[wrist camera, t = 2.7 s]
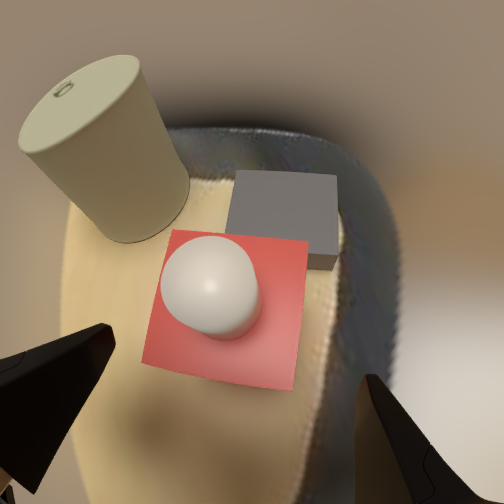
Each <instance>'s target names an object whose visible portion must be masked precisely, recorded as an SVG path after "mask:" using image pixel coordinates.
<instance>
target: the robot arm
mask: <svg viewBox="0 0 504 504" xmlns="http://www.w3.org/2000/svg"><path fill="white" fill-rule="evenodd" d="M115 345H116V342H115V338H114V334H113V330H112V327H111V326H110V325H107V324H104V323H100V324H97V325H94V326H92V327H89V328H86V329H84V330H81V331H78V332H76V333H73V334H70V335H68V336H65V337H62V338H60V339H57V340H54V341H52V342H49V343H46V344H43V345H41V346H38V347H35V348H33V349H30V350H28V351H24V352H22V353H19V354H16V355H13V356H10V357H7V358H4V359H0V504H15V500H14V494H13V489H12V486H11V485H10V484H9V483H10V482H11V480H12V479H14V480H16V481H17V482H18V483H19V484H20V485H22V486H23V487H24V488H25V489H27V490H28V491H29V492H31V493H32V494H33V495H34V494H35V493H36V491H37V489H38V487H39V485H40V483H41V481H42V479H43V477H44V475H45V473H46V471H47V469H48V467H49V466H50V464H51V462H52V460H53V458H54V456H55V454H56V452H57V450H58V449H59V447H60V445H61V443H62V441H63V440H64V438H65V436H66V434H67V433H68V431H69V429H70V427H71V426H72V424H73V422H74V420H75V419H76V417H77V415H78V414H79V412H80V410H81V409H82V407H83V405H84V404H85V402H86V400H87V399H88V397H89V395H90V394H91V392H92V391H93V389H94V387H95V386H96V384H97V382H98V381H99V379H100V377H101V375H102V373H103V371H104V369H105V367H106V365H107V363H108V361H109V359H110V357H111V355H112V353H113V351H114V349H115ZM354 463H355V501H354V504H504V503H498V502H492V501H488V500H485V499H483V498H481V497H479V496H478V495H476V494H475V493H474V492H473V491H472V490H471V489H470V488H469V487H468V486H467V485H466V484H465V483H464V482H463V481H462V479H461V478H460V477H459V476H458V475H457V474H456V473H455V472H454V471H453V470H452V469H451V468H450V467H449V466H448V465H447V463H446V462H445V461H444V460H443V459H442V457H441V456H440V455H439V454H438V452H437V451H436V450H435V448H434V447H433V446H432V445H430V442H429V441H428V439H427V438H426V437H425V435H424V434H423V433H422V431H421V430H420V429H419V428H418V426H417V425H416V424H415V423H414V421H413V420H412V418H411V417H410V416H409V415H408V413H407V412H406V411H405V409H404V408H403V407H402V406H401V404H400V403H399V402H398V400H397V399H396V398H395V397H394V395H393V394H392V393H391V391H390V390H389V389H388V388H387V386H386V385H385V384H384V383H383V381H382V380H381V379H380V378H379V376H378V375H376V374H365V375H364V377H363V379H362V381H361V383H360V386H359V388H358V390H357V394H356V410H355V424H354Z"/></svg>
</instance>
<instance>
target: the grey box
mask: <svg viewBox="0 0 504 504" xmlns="http://www.w3.org/2000/svg"><path fill="white" fill-rule="evenodd" d="M225 234H233V235H245V236H256V237H267V238H278V239H288V240H299V241H309V244H308V257H307V269H315V270H329V271H332V269H333V267H334V264H335V262H336V260H337V257H338V196H337V175H327V174H314V173H299V172H282V171H259V170H237V171H236V177H235V182H234V187H233V192H232V197H231V203H230V208H229V213H228V219H227V224H226V230H225Z"/></svg>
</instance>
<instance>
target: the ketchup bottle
mask: <svg viewBox="0 0 504 504" xmlns="http://www.w3.org/2000/svg"><path fill="white" fill-rule="evenodd" d="M308 244H309V241H299V240H288V239H278V238H267V237H256V236H245V235H233V234H222V233H210V232H198V231H186V230H172V233H171V237H170V240H169V244H168V248H167V251H166V255H165V259H164V263H163V267H162V270H161V274H160V278H159V282H158V287H157V291H156V295H155V299H154V303H153V308H152V312H151V317H150V321H149V326H148V331H147V336H146V341H145V346H144V351H143V356H142V362H141V363H144V364H147V365H151V366H155V367H159V368H163V369H167V370H171V371H175V372H179V373H183V374H188V375H192V376H197V377H202V378H207V379H212V380H217V381H222V382H228V383H234V384H240V385H246V386H253V387H260V388H268V389H276V390H284V391H292V389H293V382H294V375H295V368H296V360H297V353H298V345H299V337H300V328H301V320H302V310H303V301H304V291H305V280H306V269H307V257H308Z"/></svg>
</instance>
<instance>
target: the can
mask: <svg viewBox="0 0 504 504" xmlns="http://www.w3.org/2000/svg"><path fill="white" fill-rule="evenodd" d="M18 142H19V147H20V149H21V151H22V152H23V153H25V154H26V155H27V156H28V157H29V158H30V159H31V160H32V161H33V162H34V163H35V164H36V165H37V166H38V167H39V168H40V169H41V170H42V171H43V172H44V173H45V174H46V175H47V176H48V177H49V178H50V179H51V180H52V181H53V182H54V183H55V184H56V185H57V186H58V187H59V188H60V189H61V190H62V191H63V193H64V194H65V195H67V196H68V198H69V199H70V200H71V201H72V202H73V203H74V204H75V205H76V206H77V207H79V208H80V209H81V210H82V211H83V212H84V213H85V214H86V215H87V216H88V217H89V218H90V219H91V220H92V221H93V222H94V223H95V224H96V225H97V226H98V228H99V229H100V231H101V232H102V233H103V234H104V235H105V236H106V237H107V238H109V239H111V240H113V241H116V242H121V243H133V242H139V241H142V240H145V239H148V238H150V237H152V236H154V235H156V234H157V233H159V232H160V231H162V230H163V229H164V228H166V227H167V226H168V225H169V224H170V223H171V222H172V221H173V220H174V219H175V218H176V216H177V215H178V214H179V212H180V211H181V209H182V208H183V206H184V204H185V202H186V199H187V196H188V192H189V185H190V184H189V175H188V172H187V170H186V168H185V166H184V165H183V164H182V162H181V161H180V159H179V157H178V155H177V153H176V151H175V148H174V146H173V144H172V142H171V139H170V137H169V135H168V133H167V130H166V128H165V126H164V124H163V121H162V119H161V117H160V114H159V112H158V110H157V107H156V105H155V102H154V100H153V98H152V95H151V93H150V90H149V88H148V85H147V83H146V80H145V78H144V75H143V72H142V70H141V65H140V62H139V60H138V59H137V58H136V57H134V56H131V55H116V56H111V57H107V58H104V59H101V60H98V61H96V62H94V63H91V64H89V65H87V66H85V67H83V68H81V69H80V70H78V71H76V72H74V73H73V74H71V75H70V76H68V77H67V78H65V79H64V80H63V81H61V82H60V83H59V84H58V85H56V86H55V87H54V88H53V89H52V90H50V91H49V93H47V94H46V95H45V96H44V97H43V98H42V100H41V101H40V102H39V103H38V104H37V105H36V106H35V108H34V109H33V110H32V111H31V113H30V114H29V116H28V117H27V119H26V121H25V122H24V124H23V127H22V129H21V131H20V135H19V141H18Z"/></svg>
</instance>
